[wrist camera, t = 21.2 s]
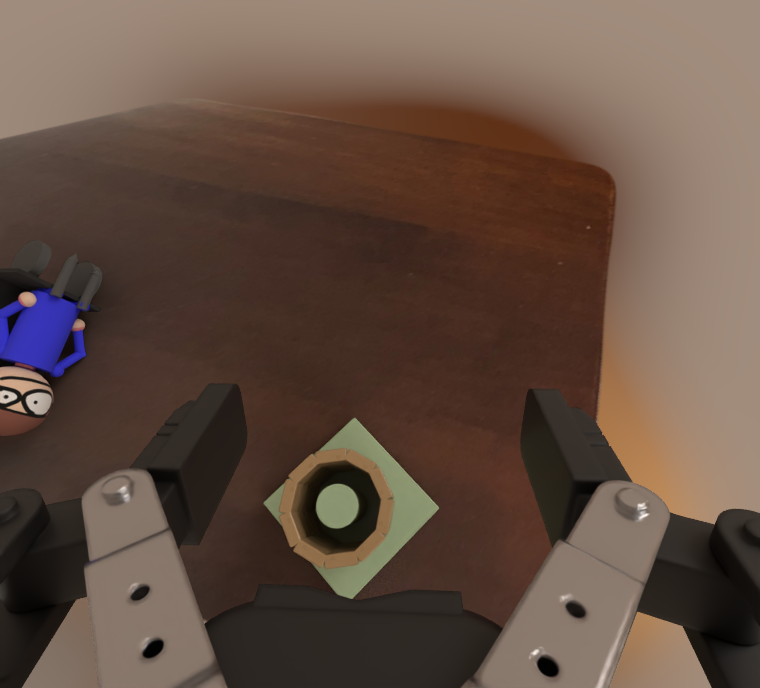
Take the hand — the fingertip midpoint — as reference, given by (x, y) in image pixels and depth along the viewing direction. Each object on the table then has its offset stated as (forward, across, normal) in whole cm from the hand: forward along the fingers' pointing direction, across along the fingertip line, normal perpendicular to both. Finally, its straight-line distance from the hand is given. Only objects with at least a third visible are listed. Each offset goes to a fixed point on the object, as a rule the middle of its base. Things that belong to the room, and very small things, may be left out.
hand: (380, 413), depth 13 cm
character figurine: (+23, +28, +10) cm, 38 cm away
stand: (+15, +3, +18) cm, 24 cm away
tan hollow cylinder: (+14, +3, +18) cm, 23 cm away
